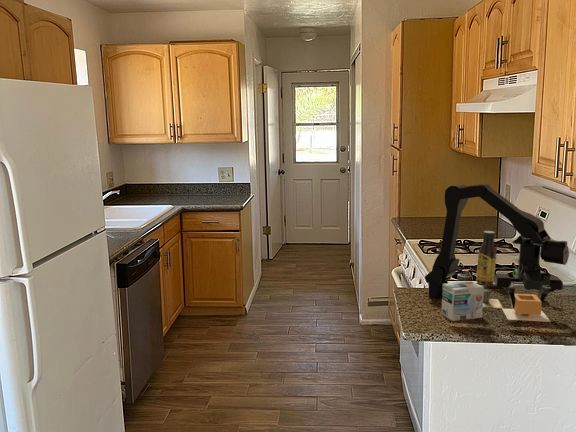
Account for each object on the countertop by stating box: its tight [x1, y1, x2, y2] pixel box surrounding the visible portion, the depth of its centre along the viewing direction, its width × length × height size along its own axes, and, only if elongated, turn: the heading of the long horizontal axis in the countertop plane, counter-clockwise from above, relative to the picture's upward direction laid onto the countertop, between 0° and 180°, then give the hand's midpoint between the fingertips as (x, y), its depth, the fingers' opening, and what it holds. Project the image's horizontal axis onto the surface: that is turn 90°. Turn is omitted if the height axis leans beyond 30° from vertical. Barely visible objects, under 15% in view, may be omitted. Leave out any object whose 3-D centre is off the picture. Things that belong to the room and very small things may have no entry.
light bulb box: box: [440, 280, 485, 324], centre depth 168 cm, size 11×7×11 cm, turn 106°
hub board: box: [501, 307, 552, 323], centre depth 169 cm, size 12×10×4 cm
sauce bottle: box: [476, 230, 497, 286], centre depth 204 cm, size 6×6×20 cm
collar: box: [510, 293, 543, 315], centre depth 169 cm, size 7×7×4 cm
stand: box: [483, 289, 504, 309], centre depth 180 cm, size 9×9×5 cm
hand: (525, 308), depth 169 cm, fingers closed on collar, 7 cm apart
